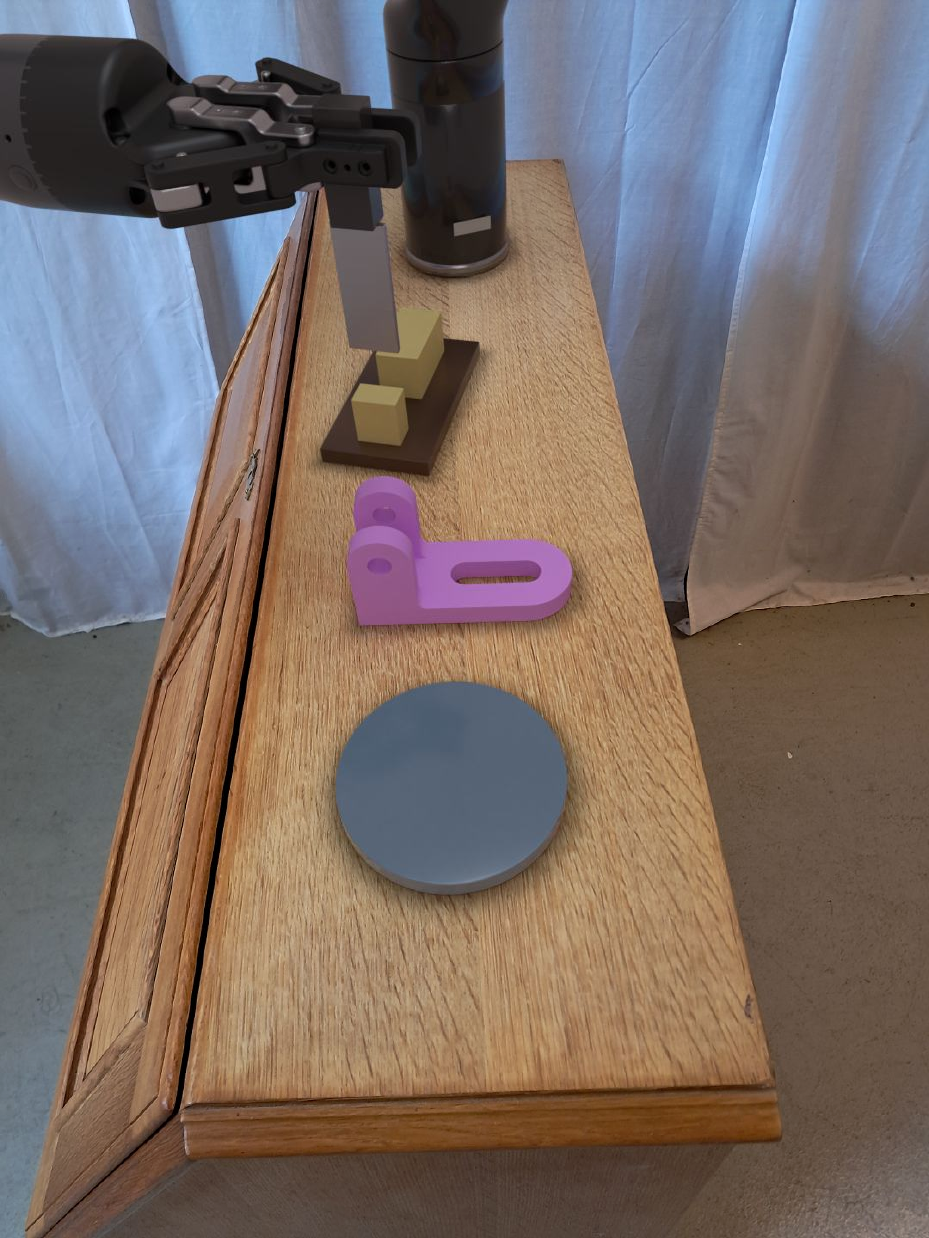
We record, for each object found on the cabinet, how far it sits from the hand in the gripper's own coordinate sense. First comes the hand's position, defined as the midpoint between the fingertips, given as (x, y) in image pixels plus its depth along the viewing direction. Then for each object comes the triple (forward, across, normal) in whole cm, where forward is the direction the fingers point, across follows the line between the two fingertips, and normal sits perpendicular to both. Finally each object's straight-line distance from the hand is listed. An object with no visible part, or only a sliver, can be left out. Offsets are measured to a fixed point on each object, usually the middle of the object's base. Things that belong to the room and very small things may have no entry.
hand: (409, 149), depth 41 cm
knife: (-3, 0, +10) cm, 11 cm away
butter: (-7, +16, +24) cm, 30 cm away
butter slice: (-7, +9, +24) cm, 26 cm away
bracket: (+2, -3, +25) cm, 26 cm away
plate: (+5, -17, +25) cm, 31 cm away
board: (-7, +14, +25) cm, 29 cm away
